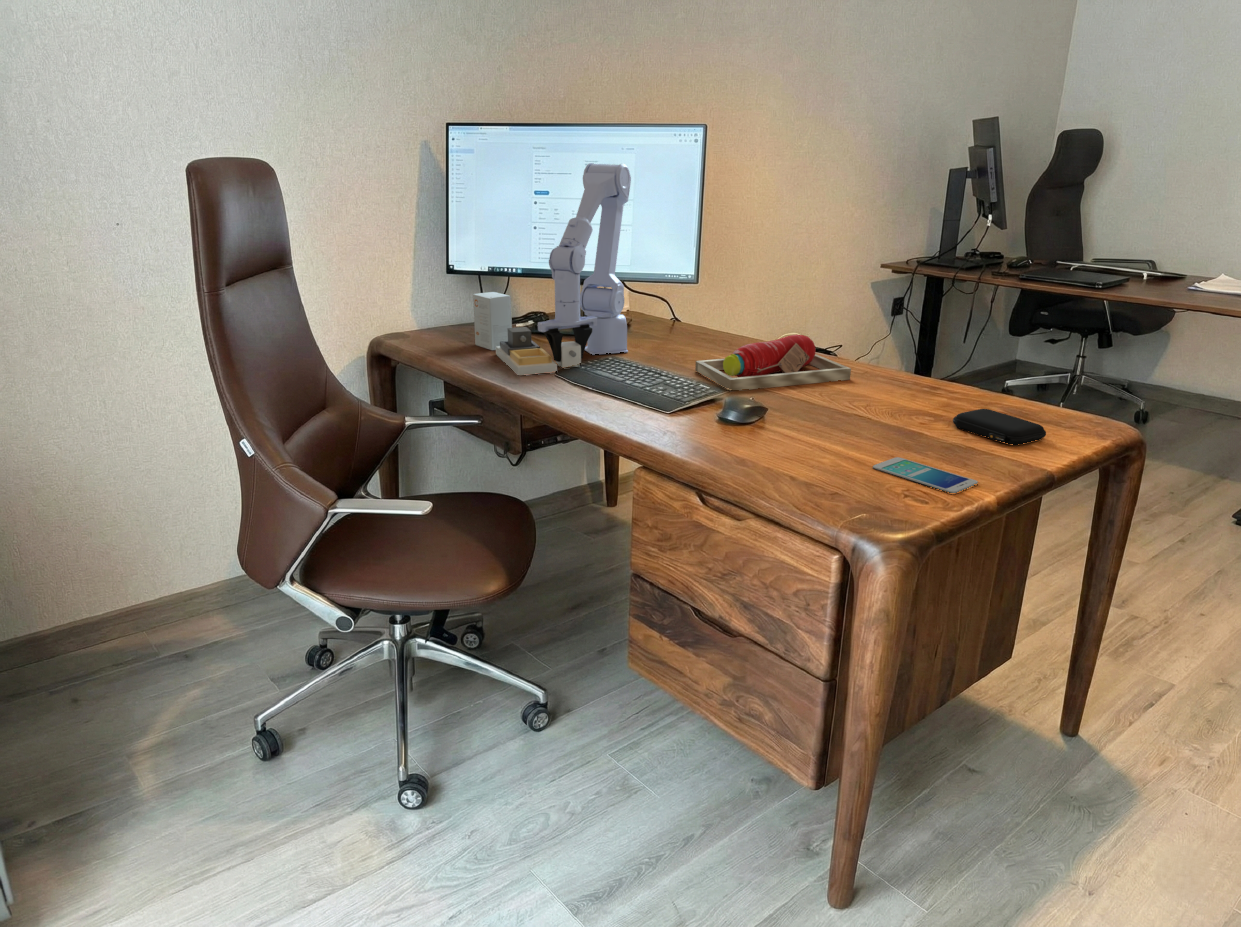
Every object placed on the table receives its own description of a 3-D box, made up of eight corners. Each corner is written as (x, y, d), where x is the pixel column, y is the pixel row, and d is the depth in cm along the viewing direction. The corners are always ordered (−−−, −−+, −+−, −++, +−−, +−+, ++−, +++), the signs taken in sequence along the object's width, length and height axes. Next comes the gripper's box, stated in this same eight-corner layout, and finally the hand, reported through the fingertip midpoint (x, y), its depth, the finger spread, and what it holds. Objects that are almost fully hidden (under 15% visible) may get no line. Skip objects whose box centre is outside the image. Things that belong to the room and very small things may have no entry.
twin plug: (526, 347, 220) (525, 326, 218) (533, 353, 214) (532, 332, 212) (508, 348, 218) (507, 328, 217) (514, 354, 213) (514, 333, 211)
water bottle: (835, 343, 203) (756, 361, 189) (827, 376, 207) (749, 396, 193) (795, 325, 212) (717, 341, 197) (789, 357, 215) (711, 375, 201)
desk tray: (808, 361, 216) (809, 351, 215) (850, 379, 201) (851, 368, 200) (695, 371, 206) (695, 361, 206) (729, 391, 191) (730, 379, 190)
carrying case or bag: (942, 428, 169) (1010, 451, 157) (944, 412, 168) (1012, 434, 156) (981, 420, 174) (1049, 442, 162) (983, 405, 173) (1052, 425, 161)
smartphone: (897, 456, 152) (980, 481, 141) (897, 461, 153) (979, 486, 142) (870, 466, 148) (953, 492, 137) (870, 470, 148) (953, 497, 137)
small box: (513, 347, 229) (511, 295, 224) (491, 351, 225) (489, 298, 221) (496, 341, 235) (493, 291, 230) (474, 345, 231) (472, 293, 226)
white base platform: (532, 351, 224) (531, 337, 223) (557, 372, 205) (556, 357, 204) (496, 354, 221) (495, 340, 220) (518, 376, 202) (517, 360, 201)
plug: (574, 362, 215) (574, 341, 213) (583, 368, 209) (583, 347, 207) (556, 363, 213) (555, 342, 211) (564, 370, 207) (564, 348, 206)
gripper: (586, 295, 213) (586, 352, 218) (530, 300, 206) (532, 359, 211) (601, 299, 208) (602, 357, 212) (545, 305, 200) (547, 365, 205)
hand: (568, 359), depth 211 cm, fingers closed on plug, 5 cm apart
